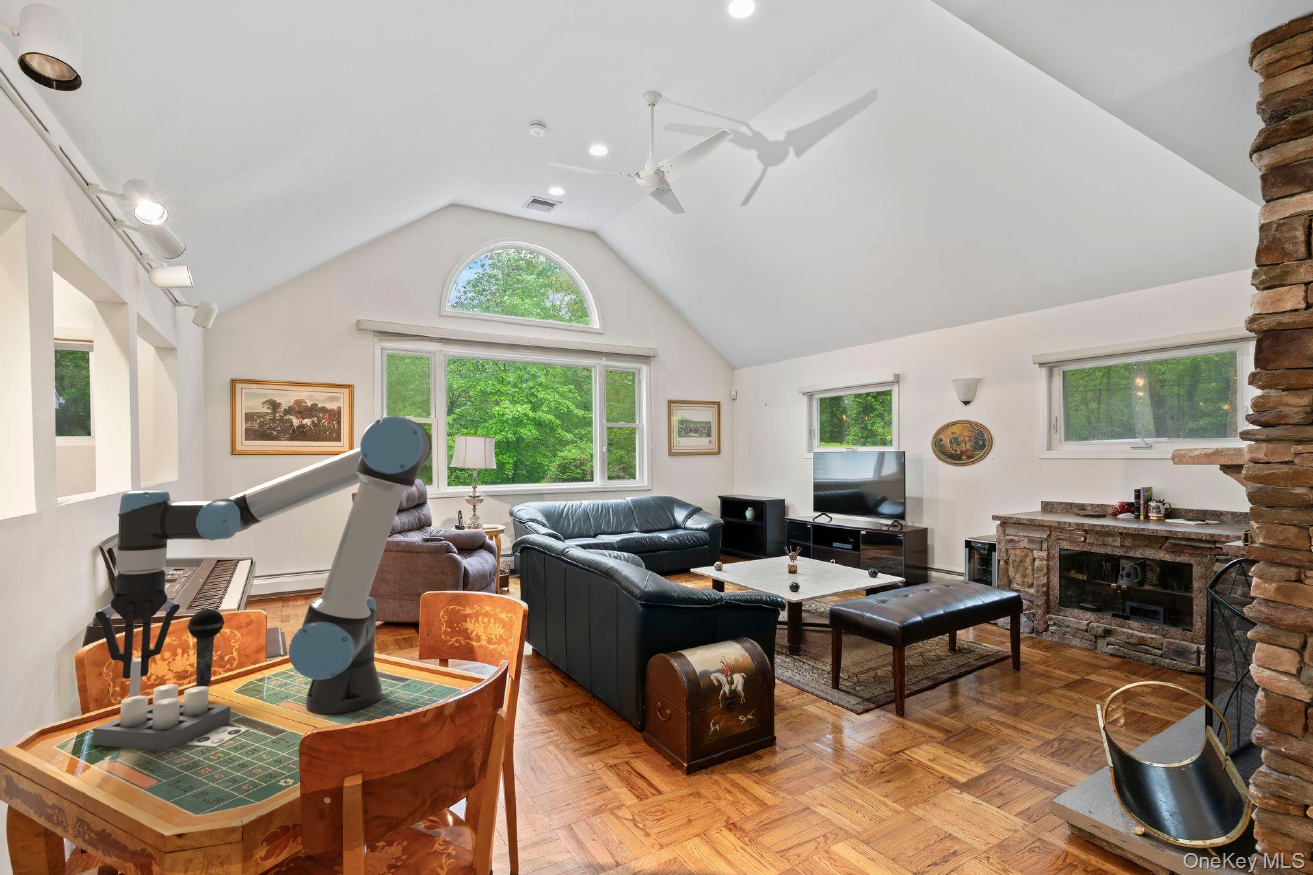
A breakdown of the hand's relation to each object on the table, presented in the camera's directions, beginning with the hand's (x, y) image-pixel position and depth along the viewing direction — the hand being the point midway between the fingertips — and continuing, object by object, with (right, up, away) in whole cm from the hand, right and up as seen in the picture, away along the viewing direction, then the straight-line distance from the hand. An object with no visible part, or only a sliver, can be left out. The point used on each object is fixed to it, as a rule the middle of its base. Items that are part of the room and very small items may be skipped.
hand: (134, 693), depth 121 cm
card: (+16, -9, +1) cm, 18 cm away
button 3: (+7, -6, -1) cm, 9 cm away
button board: (+4, -9, +2) cm, 10 cm away
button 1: (0, -6, 0) cm, 6 cm away
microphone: (-1, -9, +19) cm, 21 cm away
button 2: (+1, -6, +6) cm, 9 cm away
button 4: (+8, -6, +5) cm, 11 cm away
